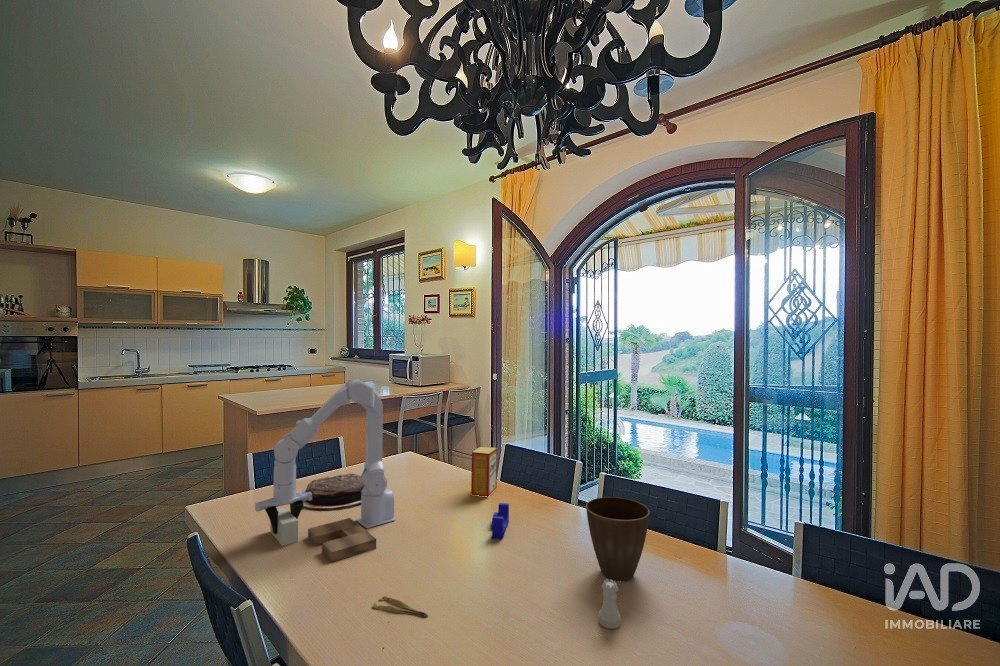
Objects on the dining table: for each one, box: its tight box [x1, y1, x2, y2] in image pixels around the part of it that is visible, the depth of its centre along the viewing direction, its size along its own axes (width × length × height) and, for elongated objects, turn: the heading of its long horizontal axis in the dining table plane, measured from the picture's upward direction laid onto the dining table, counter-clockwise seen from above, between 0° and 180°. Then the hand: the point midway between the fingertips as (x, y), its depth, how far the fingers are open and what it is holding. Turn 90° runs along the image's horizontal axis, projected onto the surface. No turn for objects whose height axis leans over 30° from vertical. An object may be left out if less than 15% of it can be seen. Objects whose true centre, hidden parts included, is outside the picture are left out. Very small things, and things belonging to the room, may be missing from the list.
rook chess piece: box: [597, 578, 622, 630], centre depth 89 cm, size 4×4×8 cm
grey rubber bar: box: [269, 507, 299, 547], centre depth 125 cm, size 4×12×6 cm, turn 41°
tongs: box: [371, 595, 429, 618], centre depth 93 cm, size 4×13×2 cm, turn 72°
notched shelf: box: [307, 517, 377, 563], centre depth 122 cm, size 12×18×2 cm, turn 41°
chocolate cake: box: [299, 473, 364, 511], centre depth 158 cm, size 28×28×7 cm
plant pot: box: [585, 496, 651, 583], centre depth 107 cm, size 15×15×16 cm
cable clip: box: [490, 502, 510, 540], centre depth 132 cm, size 12×4×6 cm, turn 170°
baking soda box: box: [470, 446, 498, 497], centre depth 164 cm, size 10×6×16 cm
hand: (283, 530), depth 125 cm, fingers closed on grey rubber bar, 4 cm apart
